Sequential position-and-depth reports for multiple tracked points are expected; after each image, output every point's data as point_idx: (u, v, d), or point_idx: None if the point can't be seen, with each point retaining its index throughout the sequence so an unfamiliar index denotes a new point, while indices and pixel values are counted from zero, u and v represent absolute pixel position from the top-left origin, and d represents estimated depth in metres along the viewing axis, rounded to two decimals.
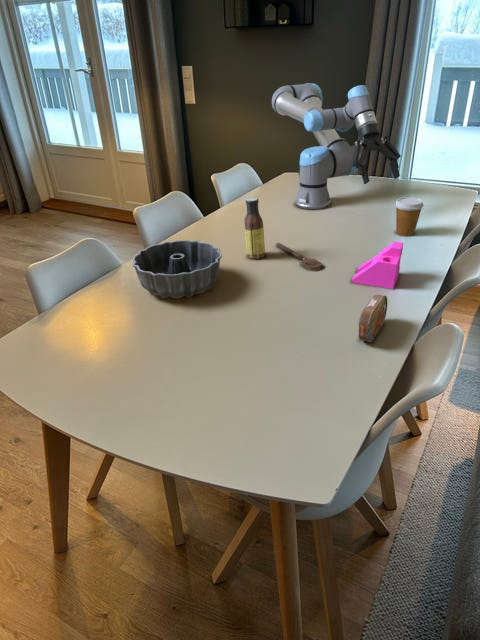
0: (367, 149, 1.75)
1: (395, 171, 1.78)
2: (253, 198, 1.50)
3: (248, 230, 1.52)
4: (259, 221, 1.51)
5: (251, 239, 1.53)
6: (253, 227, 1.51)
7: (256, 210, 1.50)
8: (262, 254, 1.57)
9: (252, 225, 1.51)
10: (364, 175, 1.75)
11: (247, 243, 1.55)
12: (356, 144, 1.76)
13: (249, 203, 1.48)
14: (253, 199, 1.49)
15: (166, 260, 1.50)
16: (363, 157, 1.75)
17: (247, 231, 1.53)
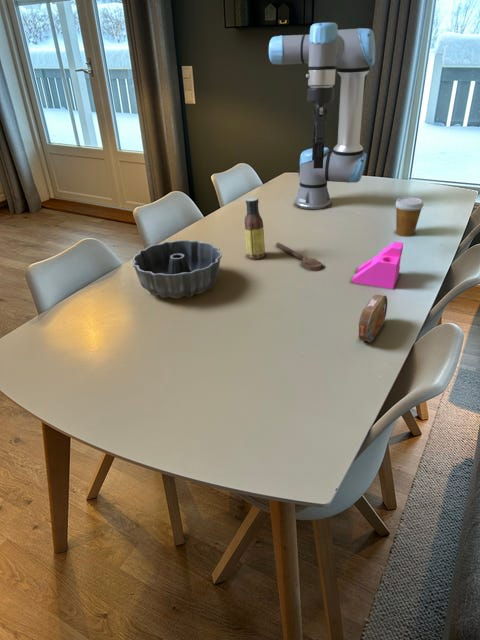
0: None
1: None
2: (253, 198, 1.50)
3: (248, 230, 1.52)
4: (259, 221, 1.51)
5: (251, 239, 1.53)
6: (253, 227, 1.51)
7: (256, 210, 1.50)
8: (262, 254, 1.57)
9: (252, 225, 1.51)
10: None
11: (247, 243, 1.55)
12: None
13: (249, 203, 1.48)
14: (253, 199, 1.49)
15: (166, 260, 1.50)
16: (314, 129, 1.45)
17: (247, 231, 1.53)
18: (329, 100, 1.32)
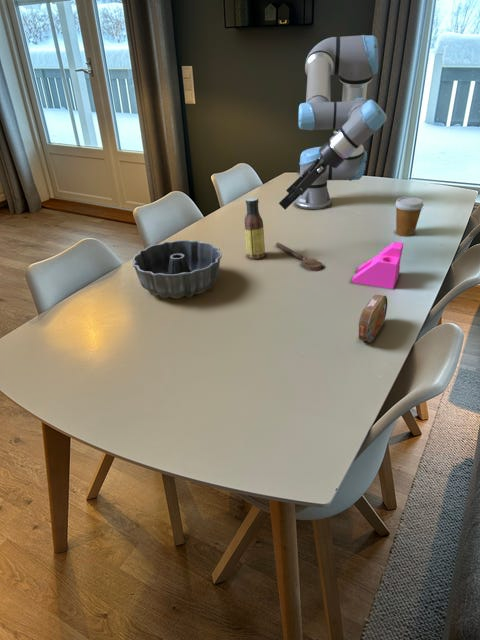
0: None
1: None
2: (253, 198, 1.50)
3: (248, 230, 1.52)
4: (259, 221, 1.51)
5: (251, 239, 1.53)
6: (253, 227, 1.51)
7: (256, 210, 1.50)
8: (262, 254, 1.57)
9: (252, 225, 1.51)
10: None
11: (247, 243, 1.55)
12: None
13: (249, 203, 1.48)
14: (253, 199, 1.49)
15: (166, 260, 1.50)
16: (306, 170, 1.47)
17: (247, 231, 1.53)
18: (333, 166, 1.36)
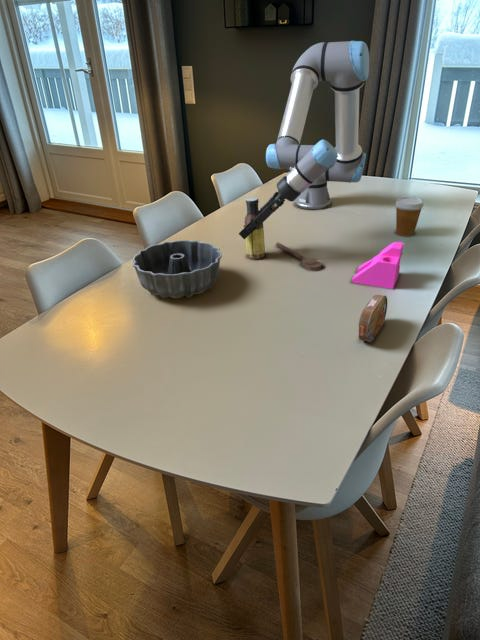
0: None
1: None
2: (253, 198, 1.50)
3: None
4: None
5: (251, 239, 1.53)
6: None
7: (256, 210, 1.50)
8: (262, 254, 1.57)
9: None
10: None
11: (247, 243, 1.55)
12: None
13: (249, 203, 1.48)
14: (253, 199, 1.49)
15: (166, 260, 1.50)
16: (263, 206, 1.54)
17: None
18: (289, 200, 1.44)
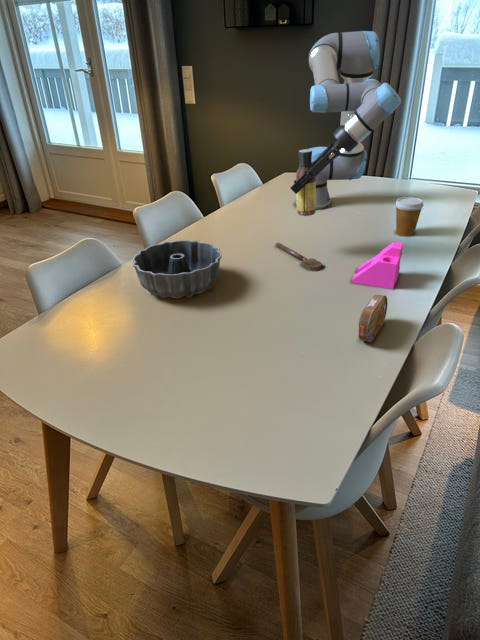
0: None
1: None
2: (306, 150, 1.43)
3: None
4: None
5: (303, 194, 1.47)
6: None
7: (310, 163, 1.43)
8: (313, 211, 1.50)
9: None
10: None
11: (298, 199, 1.49)
12: None
13: (303, 154, 1.41)
14: (307, 150, 1.42)
15: (166, 260, 1.50)
16: (316, 160, 1.47)
17: None
18: (347, 150, 1.37)
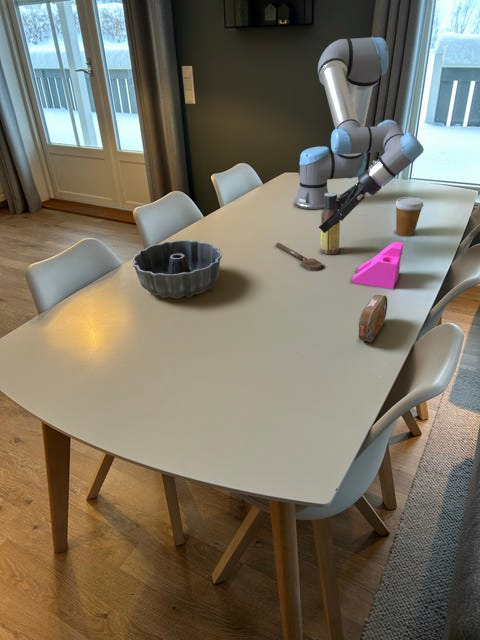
0: None
1: None
2: (332, 193, 1.50)
3: None
4: None
5: (328, 234, 1.54)
6: None
7: (335, 206, 1.50)
8: (337, 249, 1.58)
9: None
10: None
11: (323, 238, 1.56)
12: None
13: (328, 198, 1.49)
14: (332, 194, 1.49)
15: (166, 260, 1.50)
16: (343, 195, 1.55)
17: None
18: (371, 193, 1.44)
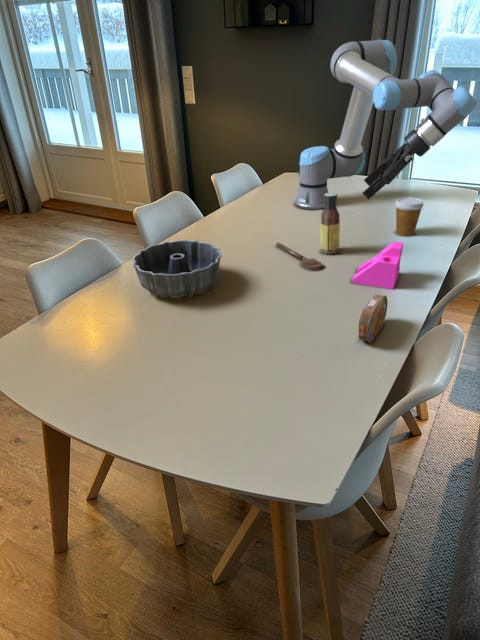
0: None
1: None
2: (332, 193, 1.50)
3: (325, 225, 1.53)
4: (337, 217, 1.51)
5: (328, 234, 1.54)
6: (331, 222, 1.52)
7: (335, 206, 1.50)
8: (337, 249, 1.58)
9: (330, 220, 1.51)
10: None
11: (323, 238, 1.56)
12: None
13: (328, 198, 1.49)
14: (332, 194, 1.49)
15: (166, 260, 1.50)
16: (386, 160, 1.47)
17: (324, 226, 1.53)
18: (419, 154, 1.36)
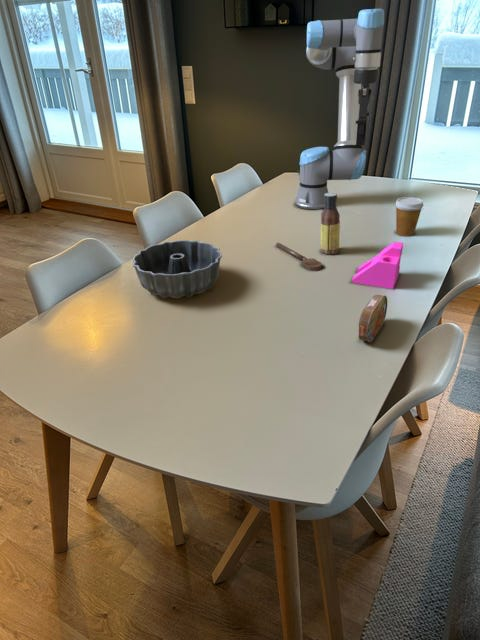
0: None
1: None
2: (332, 193, 1.50)
3: (326, 225, 1.53)
4: (337, 217, 1.51)
5: (328, 234, 1.54)
6: (331, 222, 1.52)
7: (335, 206, 1.50)
8: (337, 249, 1.58)
9: (330, 220, 1.51)
10: None
11: (323, 238, 1.56)
12: None
13: (328, 198, 1.49)
14: (332, 194, 1.49)
15: (166, 260, 1.50)
16: None
17: (324, 226, 1.53)
18: (373, 81, 1.44)
